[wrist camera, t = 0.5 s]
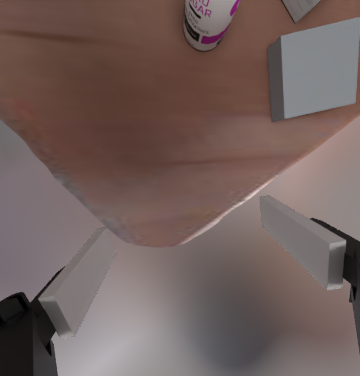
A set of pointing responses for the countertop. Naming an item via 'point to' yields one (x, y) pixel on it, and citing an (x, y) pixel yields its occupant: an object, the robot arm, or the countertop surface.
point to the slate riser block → (314, 69)
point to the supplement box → (299, 7)
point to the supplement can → (207, 21)
